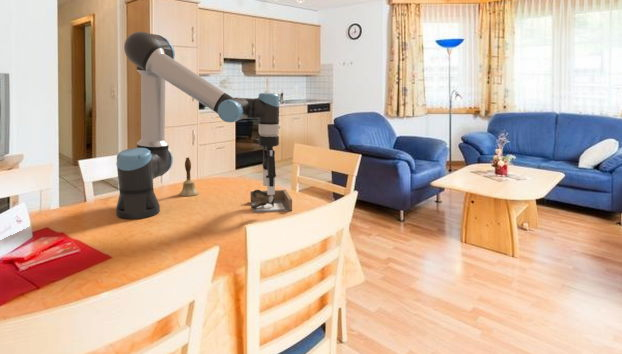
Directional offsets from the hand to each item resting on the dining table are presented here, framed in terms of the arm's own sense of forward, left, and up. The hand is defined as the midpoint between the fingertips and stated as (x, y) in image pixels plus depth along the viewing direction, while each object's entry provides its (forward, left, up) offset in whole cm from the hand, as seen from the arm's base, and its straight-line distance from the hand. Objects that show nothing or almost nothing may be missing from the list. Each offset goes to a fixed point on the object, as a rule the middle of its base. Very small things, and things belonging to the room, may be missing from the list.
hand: (268, 190), depth 167 cm
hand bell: (-31, +27, -8) cm, 42 cm away
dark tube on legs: (-2, 0, -7) cm, 7 cm away
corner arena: (+1, +2, -7) cm, 8 cm away
